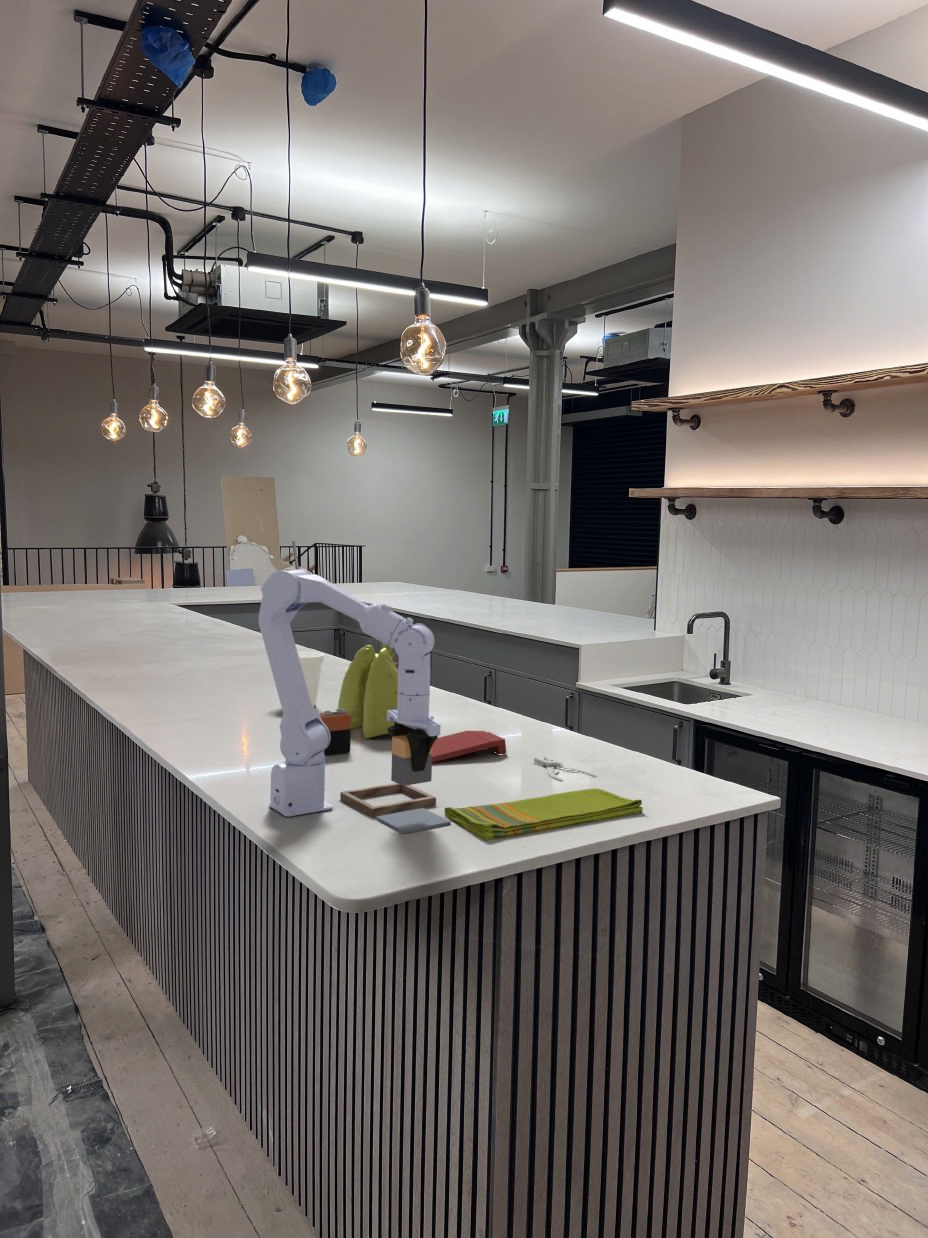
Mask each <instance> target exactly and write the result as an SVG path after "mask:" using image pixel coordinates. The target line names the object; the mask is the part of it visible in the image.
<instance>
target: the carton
mask: <svg viewBox="0 0 928 1238" xmlns="http://www.w3.org/2000/svg"><path fill="white" fill-rule="evenodd" d="M487 749H488V751H489V750H490V751H489V752H491V751H492V752H491V753H493V752H496V753H497V754H496V755H498V754H505V753H506V754H507V745H506V739H505V738H503V737H501V736H499V735H496V734H494V733H492V732H490V731H485V730H464V731H460V732H456V733H451V734H448V735H444V736H440V737H439V736H438V737H437V739H436V740H435V742H434V744H433V746H432V764H433V763H436V762H440V761H444V760H448V759H453V758H456V757H460V756H463V755H467V754H470V753H474V752H478V751H482V750H487Z"/></svg>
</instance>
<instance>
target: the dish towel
mask: <svg viewBox="0 0 928 1238" xmlns="http://www.w3.org/2000/svg"><path fill="white" fill-rule="evenodd" d="M642 801H643V800H642V799H634V800H633V799H631V798H630V799H629V798H625V797H623V796H620V795H617V794H615V793H612V792H610V791H607V790H604V789H600V788H587V789H580V790H579V789H578V790H572V791H565V792H561V793H560V792H559V793H553V794H549V795H543V796H539V797H537V796H536V797H531V798H526V799H525V798H524V799H520V800H514V801H508V802H507V801H506V802H499V803H491V804H485V805H483V804H482V805H475V806H467V807H459V808H458V807H457V808H456V807H455V808H454V807H452V806H448V807H447V806H446V807H445V808H444V815H445V817H447V818H448V819H450V820H451V821H452V822H454V823H456V824H458V826H461V827H463V828H464V829H466V830H467V831H468V832H470V831H471V833H472V834H474V835H476V836H478V837H479V838H481V839H483V840H486V841H492V839H493V840H495V839H496V840H497V839H505V838H506V839H507V838H510V837H511V838H512V837H516V836H523V835H528V834H533V833H538V832H545V831H552V830H556V829H562V827H563V828H566V827H568V826H569V827H573V826H579V825H583V824H590V823H596V822H601V821H602V822H603V821H606V820H607V821H608V820H613V819H618V818H624V817H628V816H627V815H629V816H632V814H634V815H637V814H636V813H639V814H641V813H640V812H642V813H643V810H644V808H643V806H641V805H643V804H642V803H643V802H642ZM623 816H624V817H623Z"/></svg>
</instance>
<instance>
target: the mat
mask: <svg viewBox="0 0 928 1238" xmlns="http://www.w3.org/2000/svg"><path fill="white" fill-rule="evenodd" d="M375 818H376V820H377V821H379V822H381V823H382V824H384V825H386V826H388V827H390V828H391V829H393V830H395V831H397V832H399V833H401V834H403V835H404V834H408V833H414V832H419V831H423V830H424V831H425V830H429V829H432V828H438V827H444V826H449V825H451V823H452V822H451V821H452V820H451V821H450V820H448V819H446V818H445V817H443V816H440V815H438V814H437V813H434V812H432V811H430V810H428V809H426V808H425V807H423V808H417V809H412V810H407V811H401V812H396V813H390V814H385V815H380V816H375Z"/></svg>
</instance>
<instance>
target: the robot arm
mask: <svg viewBox="0 0 928 1238" xmlns="http://www.w3.org/2000/svg"><path fill="white" fill-rule="evenodd" d="M260 591H261V595H262V597H261V603H260V607H259V612H258V617H257V618H258V619H257V620H258V626H259V629H260V633H261V637H262V640H263V644H264V648H265V652H266V655H267V659H268V663H269V666H270V671H271V674H272V677H273V681H274V684H275V687H276V691H277V694H278V695H277V696H278V699H279V702H280V705H281V706H280V707H281V710H282V718H281V721H280V723H279V731H280V736H281V737H280V742H279V749H280V753H281V755H282V757H284V759H285V760H284V761H283V762H281V763H276V764H274V765H273V766H272V768H271V772H270V802H269V803H268V806H269V807H270V808H271V809H274V810H275V811H277V812H278V813H280V814H281V815H283V816H285V817H287V818H289V817H293V816H301V815H305V814H312V813H316V812H324V811H328V810H333V809H334V806H333V805H331V804H330V803H328V802H327V801H325V789H326V788H325V786H326V785H325V780H326V778H325V777H326V755H324V750H325V749H326V748H327V747H328V745H329V743H330V738H331V736H330V731H329V729H328V727H327V726H326V725H325V724H324V723H323V721H322V719H321V716H320V711H318V709H316V707H315V708H314V707H313V706H312V704H311V700H310V697H309V693H308V689H307V686H306V682H305V678H304V675H303V671H302V667H301V664H300V660H299V656H298V653H297V652H298V650H297V646H296V642H295V639H294V634H293V631H292V628H291V622H292V621H293V619H294V618H295V616H296V614H297V613H298V611H299V610H300V609H301V608H302V607H303V606H305V605H306V604H308V603H320V604H321V603H322V604H323V605H325V606H327V607H330V608H332V609H333V610H335V611H337V612H340V613H341V614H343V615H345V616H348V617H349V618H351V619H353V620H355V621H357V622H358V624H359V626H360V629H361V631H362V632H363V633H365V634H367V635H369V636H370V637H372V638H374V639H375V640H378V641H379V642H381V643H382V644H383V643H384V644H386V645H388V646H390V647H391V648H392V649H394V651H395V653H396V654H397V656H398V667H397V670H398V696H397V710H388V711H387V721H389V722H392V721H393V722H395V724H394V726H389V727H388V732H389V733H388V734H389V735H390V738H392V737H395V736H403V735H406V736H407V739H408V741H409V745H410V750H411V762H412V769H413V771H414V772H417V771H423V770H424V769H425V766H426V762H427V759H428V755H429V752H430V750H431V748H432V746H433V744H434V742H435V740H436V739H437V738H439V736H441V728H442V727H441V726H442V725H441V724H440V723H437V722H436V721H435V720H434V718H435V717H434V715H431V714H430V696H431V693H430V691H431V690H430V689H431V654H430V653H431V651H432V650H433V649H434V646H435V635H434V633H433V631H431V629H430V627H427V626H426V625H425V624H424V623H414V624H413V622H414V620H413V619H412V618H411V617H407V618H405V617H403V616H402V615H400V614H398V613H397V612H394V611H392V610H391V607H392V606H390V605H389V604H388V603H382V605H381V604H380V603H374V604H370V605H367V603H364V602H362V601H361V600H359V598H356V597H355V596H353V595H351V594H350V593H348V592H346V591H345V590H343V589H342V588H340V587H338V586H337V585H335V584H333V583H332V582H330V581H329V580H327V579H325V578H324V577H322V576H320V575H318V574H314V573H311V572H310V571H309V570H307V569H304V568H298V569H292V570H282V569H281V570H277V571H276V570H275V571H274V572H272V573H271V574H270V575H269V576H268V577H267V579H266V580H265V581H264V583H263V584H262V586H261V588H260Z"/></svg>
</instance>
